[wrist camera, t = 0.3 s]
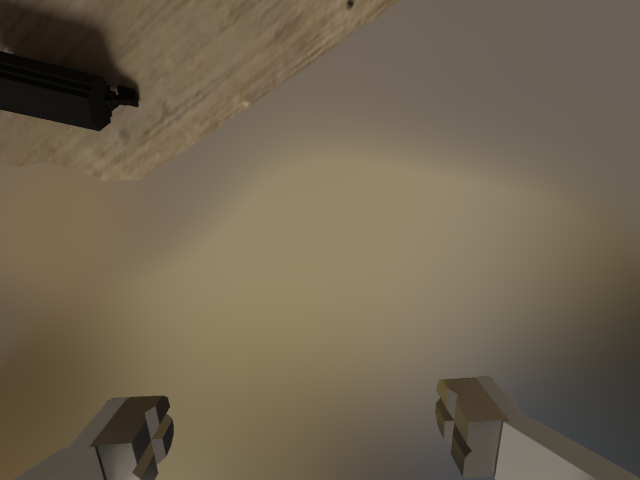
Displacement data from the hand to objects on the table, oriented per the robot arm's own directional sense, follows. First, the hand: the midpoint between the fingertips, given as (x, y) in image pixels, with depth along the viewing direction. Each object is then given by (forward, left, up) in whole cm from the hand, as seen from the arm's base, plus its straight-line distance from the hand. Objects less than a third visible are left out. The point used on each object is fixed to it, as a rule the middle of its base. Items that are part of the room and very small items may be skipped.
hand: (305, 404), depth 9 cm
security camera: (-16, -32, -53) cm, 64 cm away
